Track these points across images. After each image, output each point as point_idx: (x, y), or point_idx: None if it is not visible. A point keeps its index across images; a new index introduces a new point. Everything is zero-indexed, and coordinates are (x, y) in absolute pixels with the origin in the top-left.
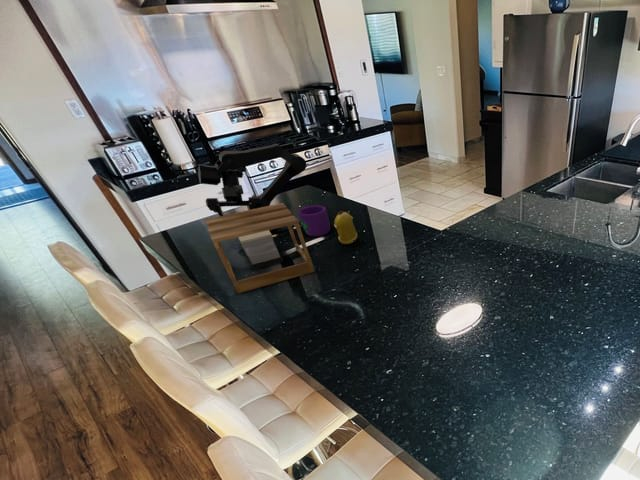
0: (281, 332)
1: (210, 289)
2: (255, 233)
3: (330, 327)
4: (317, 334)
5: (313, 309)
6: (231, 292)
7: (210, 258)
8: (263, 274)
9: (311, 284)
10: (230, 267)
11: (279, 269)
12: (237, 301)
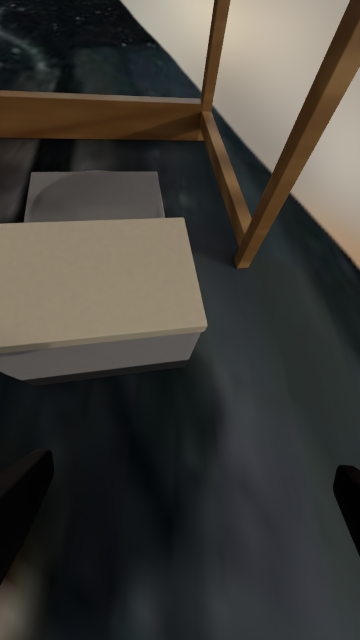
0: (132, 34)
1: None
2: (74, 285)
3: (60, 15)
4: (84, 14)
5: (65, 45)
6: None
7: (353, 408)
8: (127, 97)
9: None
10: (229, 186)
11: (77, 97)
12: None
